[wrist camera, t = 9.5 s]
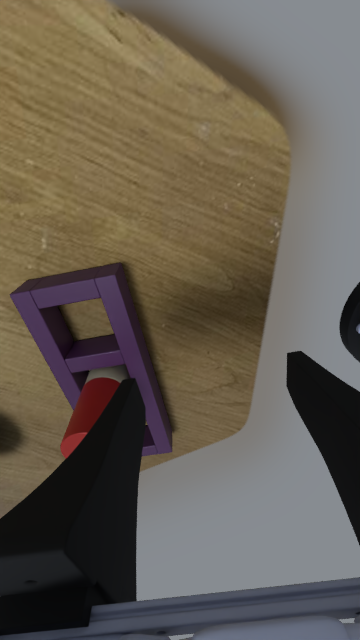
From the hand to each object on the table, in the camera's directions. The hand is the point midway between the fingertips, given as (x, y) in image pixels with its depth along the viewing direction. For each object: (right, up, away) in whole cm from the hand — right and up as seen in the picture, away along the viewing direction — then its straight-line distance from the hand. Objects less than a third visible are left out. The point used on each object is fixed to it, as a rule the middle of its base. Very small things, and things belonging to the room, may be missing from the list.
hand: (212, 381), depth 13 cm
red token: (-8, -3, +9) cm, 12 cm away
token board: (-8, -2, +12) cm, 14 cm away
